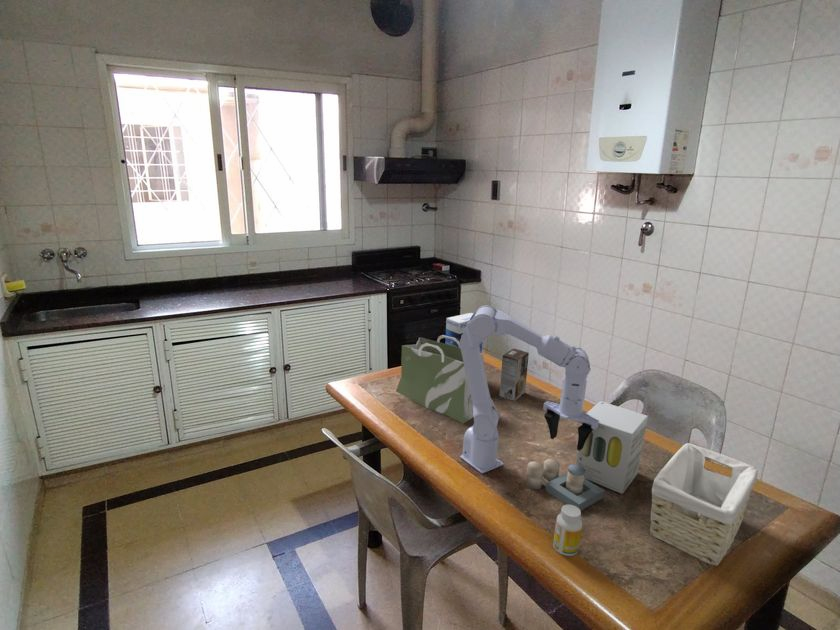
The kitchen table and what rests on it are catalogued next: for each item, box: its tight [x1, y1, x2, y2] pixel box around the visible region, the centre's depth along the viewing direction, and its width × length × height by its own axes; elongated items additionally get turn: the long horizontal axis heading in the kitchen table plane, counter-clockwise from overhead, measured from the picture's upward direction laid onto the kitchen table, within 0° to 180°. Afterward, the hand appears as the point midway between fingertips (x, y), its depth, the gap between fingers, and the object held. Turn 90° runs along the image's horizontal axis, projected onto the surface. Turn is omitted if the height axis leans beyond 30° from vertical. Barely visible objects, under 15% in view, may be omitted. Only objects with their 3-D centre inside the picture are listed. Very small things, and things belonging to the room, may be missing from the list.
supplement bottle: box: [552, 504, 583, 557], centre depth 106 cm, size 5×5×10 cm
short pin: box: [543, 458, 561, 482], centre depth 132 cm, size 4×4×4 cm
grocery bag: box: [395, 334, 486, 424], centre depth 170 cm, size 32×14×23 cm, turn 47°
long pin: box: [565, 463, 585, 496], centre depth 124 cm, size 4×4×8 cm
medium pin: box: [525, 460, 544, 490], centre depth 128 cm, size 4×4×6 cm
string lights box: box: [444, 312, 483, 354], centre depth 187 cm, size 13×8×26 cm, turn 130°
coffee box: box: [498, 348, 529, 402], centre depth 178 cm, size 9×6×16 cm
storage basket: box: [649, 442, 759, 567], centre depth 113 cm, size 24×16×15 cm
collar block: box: [545, 472, 605, 511], centre depth 125 cm, size 10×10×2 cm
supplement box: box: [575, 400, 649, 495], centre depth 132 cm, size 13×13×18 cm
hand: (566, 443), depth 130 cm, fingers open, 7 cm apart
